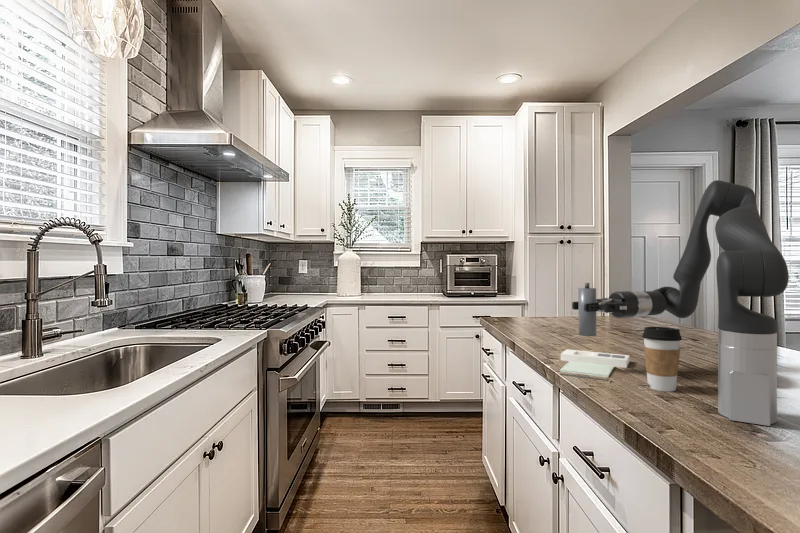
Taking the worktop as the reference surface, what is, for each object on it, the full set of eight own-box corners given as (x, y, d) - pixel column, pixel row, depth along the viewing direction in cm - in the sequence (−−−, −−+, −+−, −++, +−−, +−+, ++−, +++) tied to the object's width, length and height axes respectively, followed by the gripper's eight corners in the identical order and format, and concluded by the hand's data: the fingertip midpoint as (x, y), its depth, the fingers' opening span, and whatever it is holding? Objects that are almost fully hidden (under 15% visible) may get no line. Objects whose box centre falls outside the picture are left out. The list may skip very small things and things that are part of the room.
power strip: (651, 373, 120) (650, 362, 120) (560, 363, 133) (560, 353, 133) (652, 367, 127) (652, 356, 127) (566, 358, 140) (566, 348, 140)
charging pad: (608, 381, 114) (608, 375, 114) (560, 375, 120) (560, 369, 120) (614, 371, 124) (614, 366, 124) (569, 366, 130) (569, 361, 130)
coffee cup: (648, 392, 104) (648, 329, 104) (637, 382, 112) (637, 324, 112) (688, 394, 102) (687, 330, 102) (674, 384, 110) (674, 325, 110)
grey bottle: (595, 336, 119) (594, 283, 118) (577, 335, 121) (576, 283, 121) (597, 334, 123) (597, 282, 122) (580, 332, 125) (579, 282, 125)
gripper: (611, 289, 132) (562, 291, 128) (649, 292, 119) (596, 295, 114) (611, 314, 132) (562, 317, 128) (650, 320, 119) (596, 323, 114)
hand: (579, 306), depth 121 cm, fingers closed on grey bottle, 4 cm apart
